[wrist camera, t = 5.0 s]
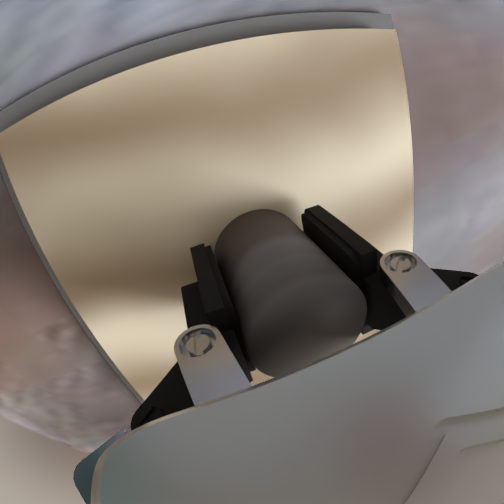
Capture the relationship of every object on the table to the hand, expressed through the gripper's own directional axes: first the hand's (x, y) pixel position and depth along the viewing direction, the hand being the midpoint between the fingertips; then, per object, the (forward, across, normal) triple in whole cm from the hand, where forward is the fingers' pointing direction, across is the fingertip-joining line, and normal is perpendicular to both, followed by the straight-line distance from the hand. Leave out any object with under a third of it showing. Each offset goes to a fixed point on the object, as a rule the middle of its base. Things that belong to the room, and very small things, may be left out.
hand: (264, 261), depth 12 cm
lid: (+2, 0, 0) cm, 2 cm away
